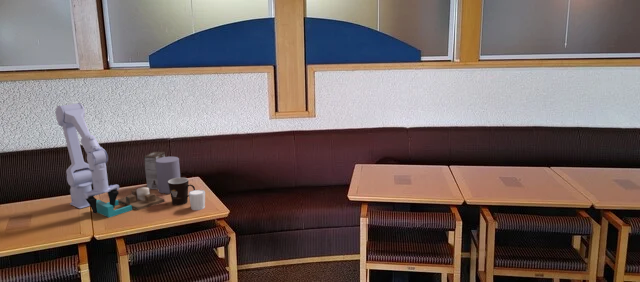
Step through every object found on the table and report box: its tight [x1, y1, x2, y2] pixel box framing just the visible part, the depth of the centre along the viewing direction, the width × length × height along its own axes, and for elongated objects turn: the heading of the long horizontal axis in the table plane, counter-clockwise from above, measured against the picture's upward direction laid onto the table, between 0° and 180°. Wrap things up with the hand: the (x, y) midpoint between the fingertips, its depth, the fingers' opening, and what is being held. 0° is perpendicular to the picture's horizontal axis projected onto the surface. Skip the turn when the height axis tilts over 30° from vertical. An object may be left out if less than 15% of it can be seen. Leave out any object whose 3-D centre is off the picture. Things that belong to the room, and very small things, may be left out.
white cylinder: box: [188, 189, 206, 211], centre depth 221 cm, size 7×7×7 cm
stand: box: [117, 186, 165, 211], centre depth 230 cm, size 13×16×6 cm
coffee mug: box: [168, 177, 196, 206], centre depth 226 cm, size 12×9×10 cm
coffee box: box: [143, 151, 166, 190], centre depth 249 cm, size 9×6×16 cm
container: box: [156, 156, 181, 195], centre depth 243 cm, size 10×10×15 cm
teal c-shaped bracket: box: [96, 199, 133, 218], centre depth 220 cm, size 10×12×4 cm
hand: (103, 210), depth 217 cm, fingers open, 7 cm apart
